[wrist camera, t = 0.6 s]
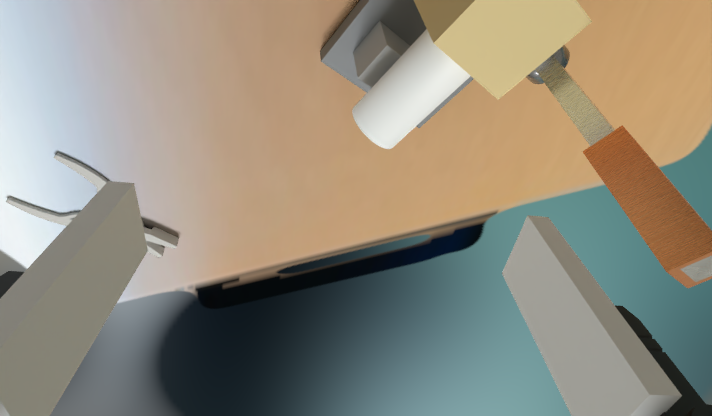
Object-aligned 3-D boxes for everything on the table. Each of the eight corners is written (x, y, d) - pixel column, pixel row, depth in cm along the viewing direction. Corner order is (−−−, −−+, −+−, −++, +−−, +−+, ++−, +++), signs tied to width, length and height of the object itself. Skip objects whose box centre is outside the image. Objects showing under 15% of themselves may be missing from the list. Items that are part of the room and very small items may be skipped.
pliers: (54, 160, 35) (196, 235, 45) (60, 148, 36) (198, 224, 46) (0, 209, 39) (142, 268, 49) (7, 197, 40) (145, 258, 50)
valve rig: (415, 118, 38) (442, 197, 31) (320, 51, 32) (327, 132, 25) (664, -114, 26) (789, -62, 19) (585, -290, 20) (728, -301, 13)
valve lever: (525, 72, 29) (677, 292, 17) (504, 51, 27) (655, 276, 16) (561, 42, 27) (753, 261, 16) (541, 18, 26) (737, 240, 14)
